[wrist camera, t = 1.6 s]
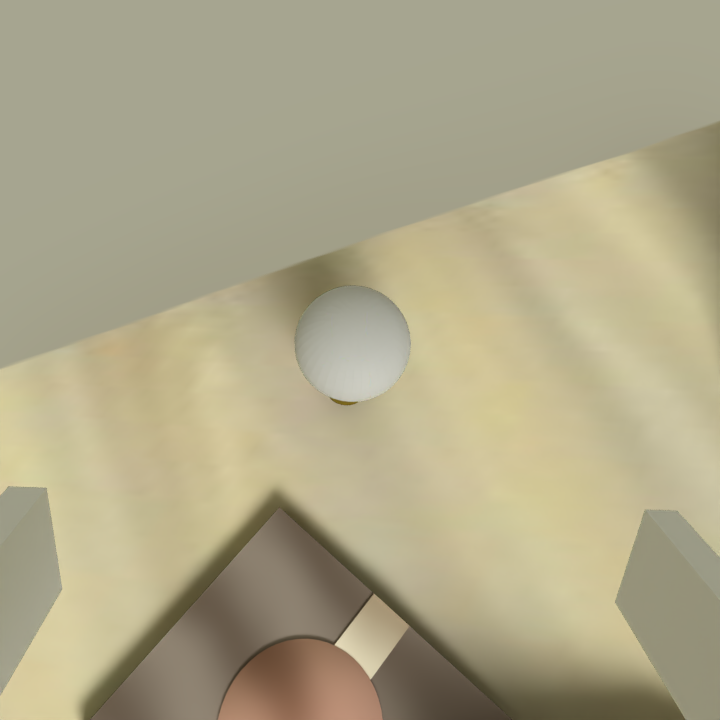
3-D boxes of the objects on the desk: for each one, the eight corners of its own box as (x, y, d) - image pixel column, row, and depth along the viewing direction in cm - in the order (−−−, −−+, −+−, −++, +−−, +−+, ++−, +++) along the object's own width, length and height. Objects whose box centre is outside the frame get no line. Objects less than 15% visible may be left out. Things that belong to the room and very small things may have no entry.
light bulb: (376, 336, 37) (396, 251, 28) (405, 420, 35) (437, 359, 26) (287, 358, 36) (278, 277, 27) (312, 446, 34) (311, 392, 25)
